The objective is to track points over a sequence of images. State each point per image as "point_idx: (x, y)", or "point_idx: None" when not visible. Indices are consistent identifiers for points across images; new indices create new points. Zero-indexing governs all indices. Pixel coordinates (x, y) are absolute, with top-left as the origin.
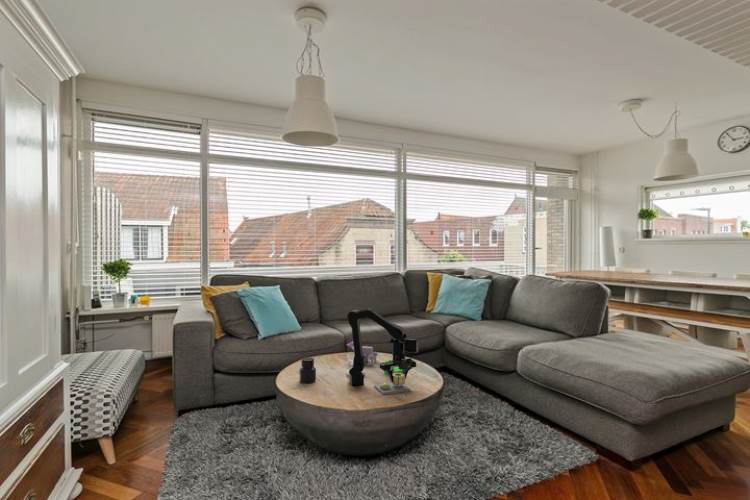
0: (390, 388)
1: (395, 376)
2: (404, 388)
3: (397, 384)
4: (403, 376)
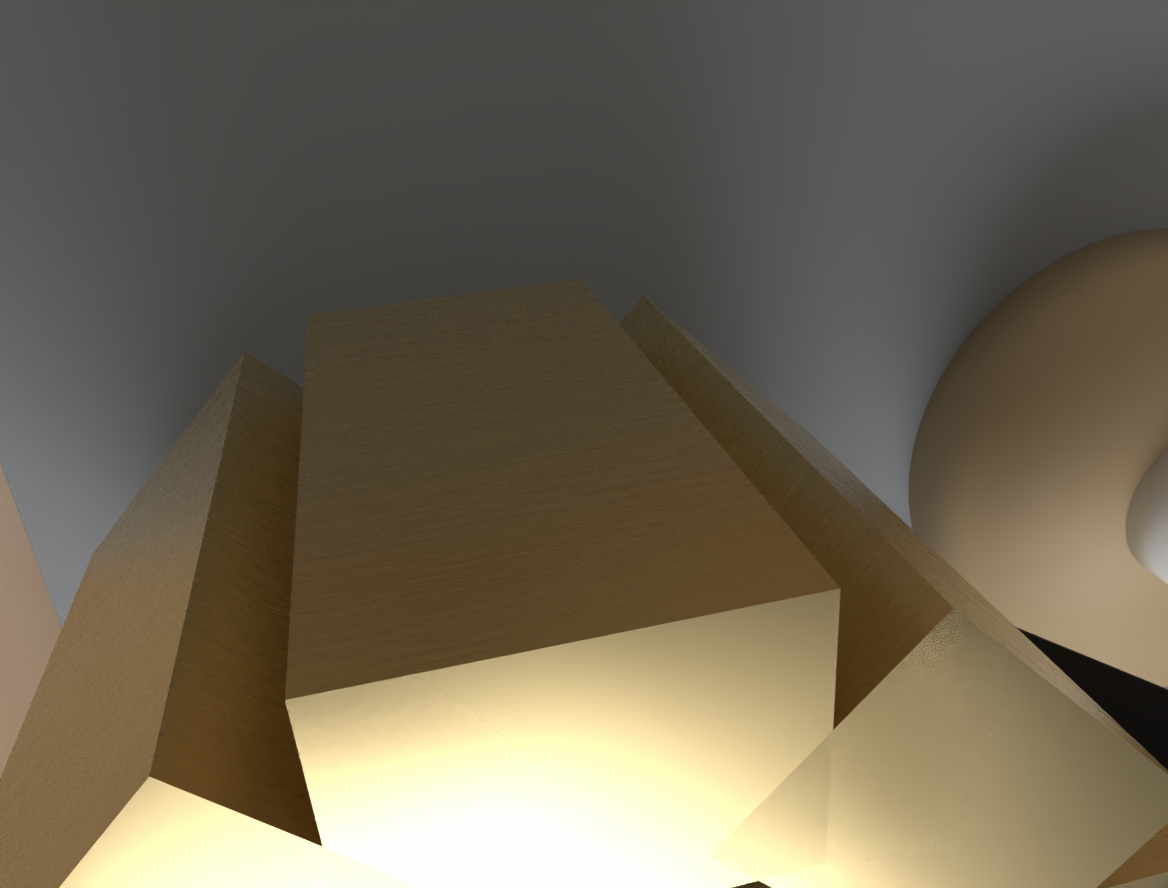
0: (931, 329)
1: (1111, 731)
2: (223, 138)
3: (679, 332)
4: (135, 759)
